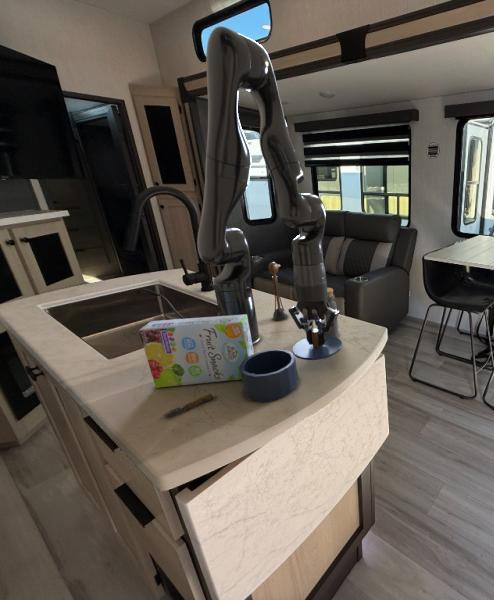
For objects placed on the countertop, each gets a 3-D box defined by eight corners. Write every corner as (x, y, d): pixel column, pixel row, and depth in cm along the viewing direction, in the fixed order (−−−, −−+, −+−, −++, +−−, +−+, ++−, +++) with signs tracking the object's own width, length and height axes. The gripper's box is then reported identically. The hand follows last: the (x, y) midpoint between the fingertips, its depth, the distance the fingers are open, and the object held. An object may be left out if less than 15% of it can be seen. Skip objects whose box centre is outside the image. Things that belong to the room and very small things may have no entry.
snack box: (257, 367, 82) (247, 313, 76) (252, 379, 76) (241, 322, 71) (166, 375, 78) (149, 319, 73) (154, 389, 73) (135, 329, 68)
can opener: (212, 396, 70) (211, 392, 70) (215, 401, 68) (213, 397, 68) (163, 415, 65) (161, 410, 64) (164, 421, 63) (162, 416, 63)
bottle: (334, 341, 95) (330, 293, 90) (316, 339, 96) (311, 292, 91) (341, 332, 100) (338, 287, 95) (324, 331, 102) (320, 286, 96)
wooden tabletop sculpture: (279, 313, 115) (272, 259, 108) (291, 314, 114) (284, 260, 107) (270, 320, 110) (262, 263, 103) (282, 321, 109) (274, 264, 102)
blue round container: (233, 397, 70) (227, 371, 68) (266, 369, 81) (262, 346, 78) (278, 405, 67) (274, 379, 65) (307, 375, 78) (304, 352, 76)
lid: (282, 358, 79) (279, 338, 77) (308, 336, 91) (306, 318, 89) (328, 365, 76) (326, 344, 74) (349, 341, 88) (348, 322, 86)
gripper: (343, 278, 79) (347, 340, 85) (293, 274, 82) (301, 334, 88) (329, 287, 72) (335, 354, 78) (276, 282, 75) (285, 347, 81)
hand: (317, 343), depth 83 cm, fingers closed on lid, 2 cm apart
